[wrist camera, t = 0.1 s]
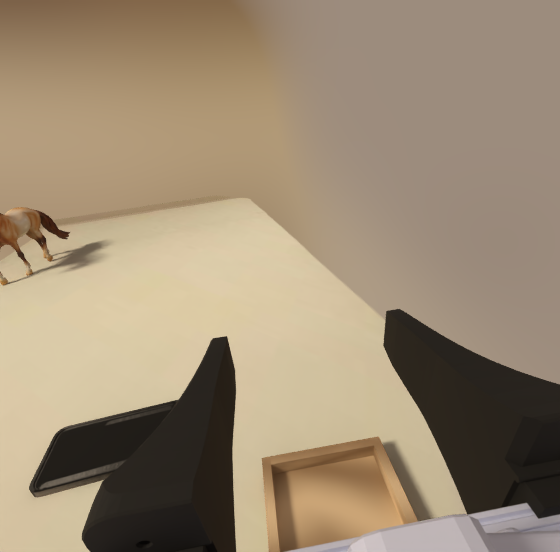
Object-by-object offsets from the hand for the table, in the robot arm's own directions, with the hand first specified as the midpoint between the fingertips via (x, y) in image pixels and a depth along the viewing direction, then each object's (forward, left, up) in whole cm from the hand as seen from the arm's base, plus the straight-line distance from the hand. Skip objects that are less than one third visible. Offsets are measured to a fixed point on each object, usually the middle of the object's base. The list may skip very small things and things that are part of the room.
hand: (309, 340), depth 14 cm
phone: (+15, +20, -22) cm, 33 cm away
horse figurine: (+83, +64, -22) cm, 107 cm away
